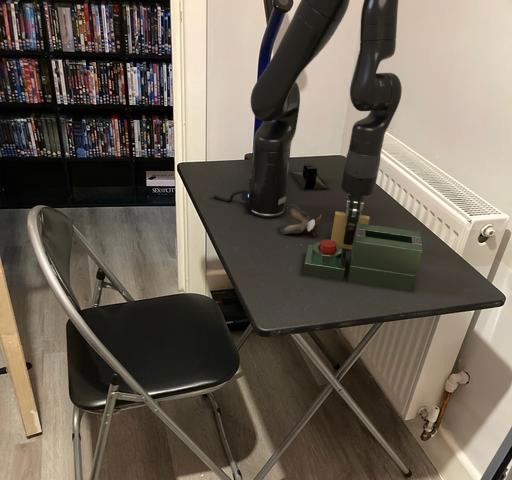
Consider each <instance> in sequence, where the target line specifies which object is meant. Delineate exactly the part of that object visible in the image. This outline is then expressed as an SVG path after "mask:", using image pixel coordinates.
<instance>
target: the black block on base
mask: <svg viewBox="0 0 512 480" xmlns="http://www.w3.org/2000/svg"><path fill="white" fill-rule="evenodd" d="M291 175H292V177H293V178H294V179H295V180H296V182H297V183H298V185H299V186H300V187H301V188H302V190H303V191H317V190H327V187H326V185H325V184H324V183H323V182H322V181H321V179H320V178H319V177H318V168H317V167H316V165H315V164H314V163H304V164H303V167H302V171H295V172H294V171H292V172H291Z"/></svg>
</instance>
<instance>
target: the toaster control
mask: <svg viewBox="0 0 512 480" xmlns="http://www.w3.org/2000/svg"><path fill="white" fill-rule="evenodd" d="M320 242H321V241H318V242H315V243H313V244H310V243H309V244H307V249H306V253H305V258H304V262H303V270H302V276H309V277H316V278H320V279H321V278H322V279H328V280H335V281H340V282H343V281H344V278H345V271H346V263H347V255H348V249H344V248H341V247H340V246H339V245H337V244H336V250H335V252H334V253H324V252H322V251H320V250H319V247H320Z"/></svg>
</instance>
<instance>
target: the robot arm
mask: <svg viewBox="0 0 512 480" xmlns="http://www.w3.org/2000/svg"><path fill="white" fill-rule="evenodd" d="M350 1H351V0H300V2H299V3H298V6H297V8H296V9H295V11H294V14H293V16H292V18H291V20H290V23H289V24H288V26H287V28H286V29H285V32H284V34H283V36H282V37H281V40H280V42H279V44H278V46H277V49H276V50H275V52H274V54H273V55H272V57H271V59H270V61H269V62H268V64H267V65H266V67H265V69H264V71H263V72H262V73H261V75H260V76H259V78H258V79H257V81H256V82H255V84H254V86H253V88H252V90H251V94H250V108H251V111H252V114H253V115H254V116H255V118H256V119H258V120H259V121H262V122H261V124H260V125H259V128H257V130H256V131H255V133H254V135H253V147H252V149H253V150H252V163H251V175H250V177H249V182H245V184H244V186H243V188H242V189H241V190H236V191H234V192H232V193H230V196H229V198H225V197H221V196H219V195H217V194H214V195H213V198H214V199H217V200H219V201H222V202H226V203H229V202H232V201H233V199H234V196H236V195H239V194H241V200H242V201H247V213H249V214H252V215H254V216H257V217H260V218H268V219H269V218H272V219H273V218H278V217H281V216H282V215H284V213H285V203H286V201H287V196H286V195H287V194H286V193H287V187H288V185H287V184H288V177H289V167H290V158H291V149H292V148H291V147H292V141H293V140H294V137H295V135H296V132H297V127H298V120H299V119H298V118H299V113H300V106H301V91H300V87H299V84H298V83H297V80H298V78H299V77H300V76H301V74H302V73H303V71H304V70H305V69H306V68H307V67H308V66H309V65H310V64H311V62H312V61H313V60H314V59H315V58H316V57H317V56H318V55H319V54H320V53H321V52H322V50H324V49H325V47H326V46H327V44H329V42H330V40H331V39H332V38H333V36H334V35H335V33H336V32H337V30H338V28H339V26H340V24H341V23H342V21H343V19H344V17H345V15H346V14H347V11H348V9H349V5H350V3H351V2H350ZM398 12H399V0H363V3H362V7H361V12H360V24H359V25H360V31H359V51H358V54H357V58H356V62H355V63H356V64H355V67H354V71H353V73H352V78H351V82H350V86H349V98H350V103H351V104H352V107H354V109H355V110H357V111H359V112H369V113H368V115H367V116H365V117H363V118H360V119H358V120H357V121H355V122H354V123H353V125H352V128H351V134H350V139H349V145H348V149H347V153H346V157H345V161H344V168H343V173H342V179H341V184H340V185H341V186H340V187H341V190H342V191H343V192H345V193H346V194H347V197H346V202H345V208H346V209H345V213H346V215H345V219H346V220H347V222H346V226H345V236H344V241H343V243H344V244H346V245H352V244H353V239H354V234H355V230H356V225H357V223H358V221H359V220H360V217H361V215H362V210H363V209H364V205H365V196H366V197H367V196H371V195H373V193H374V192H375V189H376V184H377V180H378V175H379V170H380V165H381V155H382V149H383V145H384V140H385V135H386V132H387V130H388V128H389V127H390V124H391V122H392V120H393V118H394V116H395V114H396V112H397V110H398V107H399V105H400V102H401V99H402V91H403V88H402V82H401V80H400V78H399V76H398V75H396V74H395V73H394V72H377V71H378V69H379V66H380V64H381V62H382V61H385V60H388V59H391V58H392V57H393V56H394V55H395V54H396V53H395V52H396V49H397V31H398ZM349 223H353V224H355V226H352V225H349Z"/></svg>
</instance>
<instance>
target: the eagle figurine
mask: <svg viewBox="0 0 512 480" xmlns="http://www.w3.org/2000/svg"><path fill="white" fill-rule="evenodd" d="M286 212H287V214H289V215H290V216H291V217H292V219H294V220H296V221H298V222H299V223H297V224H290V225H287V226H284V227H282V228H280V230H279V231H280V232H281V234H283V235H289V234H300V233H303V232H304V231H305V230H307V232H311V234H312V236H313V237H314V238H315V237H316V232H317V231H318V228H319V225H320V222H321V219H322V216H323V214H322V213H321V214H320V215H319V216H317V217H316V219H315V218H314V219H311V220H310V217H309V214H308V213H307V212H305V211H303V210H302V209H301V208H300V207H299V205H298V204H295V203H290V204H289V205H288V206H287V207H286Z"/></svg>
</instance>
